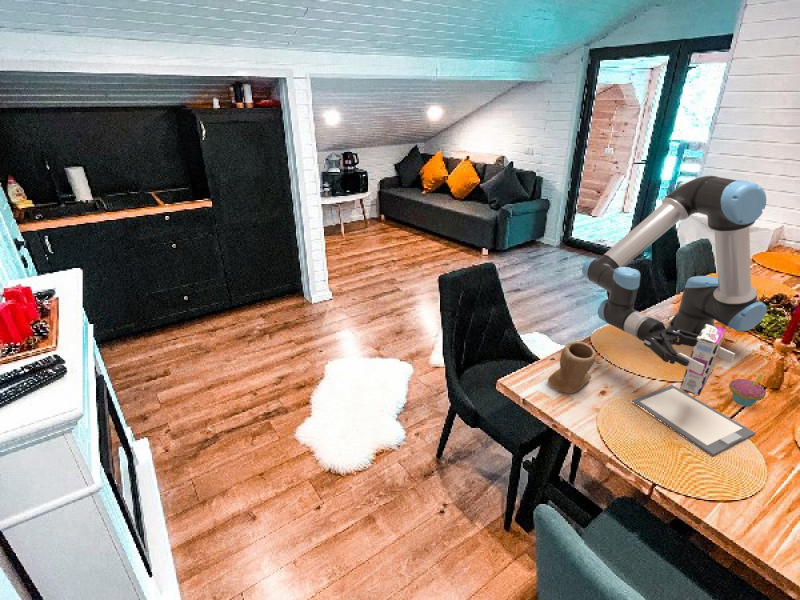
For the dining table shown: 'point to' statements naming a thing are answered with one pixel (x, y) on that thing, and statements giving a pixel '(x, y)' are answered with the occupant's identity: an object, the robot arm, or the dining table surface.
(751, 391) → the cupcake
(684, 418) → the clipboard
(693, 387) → the candy bar box
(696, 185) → the robot arm
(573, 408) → the dining table surface
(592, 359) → the stone cup
